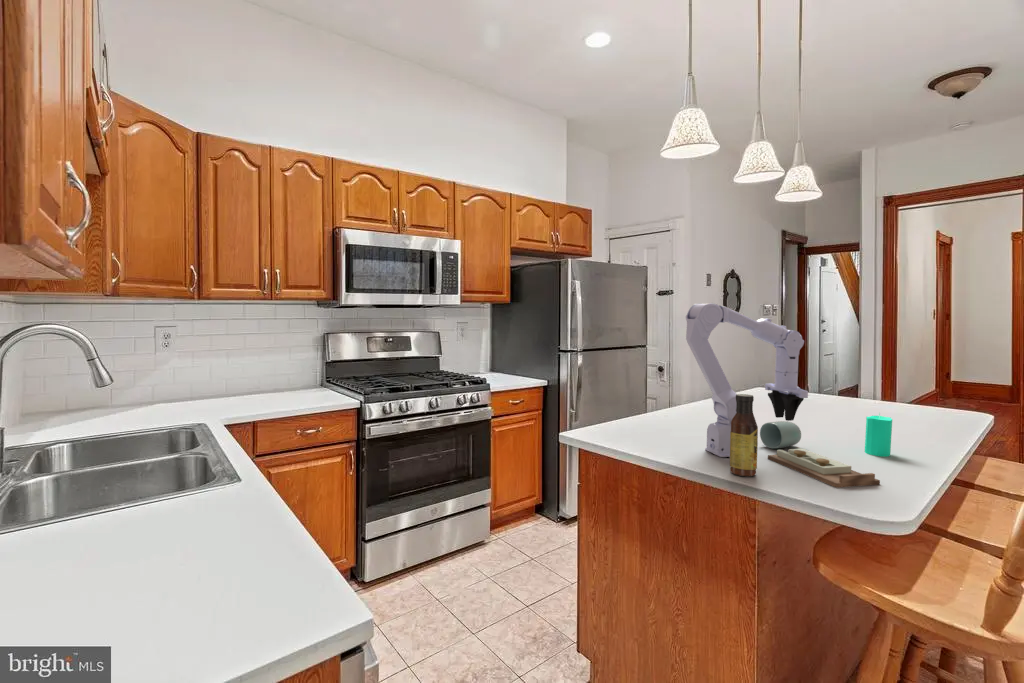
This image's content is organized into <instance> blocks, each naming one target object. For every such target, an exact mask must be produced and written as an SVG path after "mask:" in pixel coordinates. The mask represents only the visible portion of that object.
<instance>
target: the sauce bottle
mask: <svg viewBox="0 0 1024 683" xmlns="http://www.w3.org/2000/svg"><path fill="white" fill-rule="evenodd" d="M736 394H737V395H736V403H737V404H736V412H737V413H736V414H735V416H734V417H733V418H732V421H731V432H730V457H729V466H730V473H731V474H733V475H736V476H740V477H754V476H756V474H757V469H758V444H759V443H758V441H759V440H758V437H759V436H758V434H759V429H758V427H759V426H758V424H757V422H756V421H757V420H756V417H755V416H754V410H753V406H754V405H753V404H754V403H753V402H754V399H755V398H754V395H753V394H748V393H747V394H744V393H739V394H738V393H736Z"/></svg>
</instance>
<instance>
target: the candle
mask: <svg viewBox="0 0 1024 683" xmlns="http://www.w3.org/2000/svg"><path fill="white" fill-rule="evenodd" d="M865 419H866V420H865V436H864V437H865V439H864V453H865V454H867V455H870V456H875V457H881V458H882V457H891V450H892V449H891V448H892V432H893V430H892V429H893V418H892V417H888V416H882V415H881V412H879V413H878V415H870V416H866V417H865Z"/></svg>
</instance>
